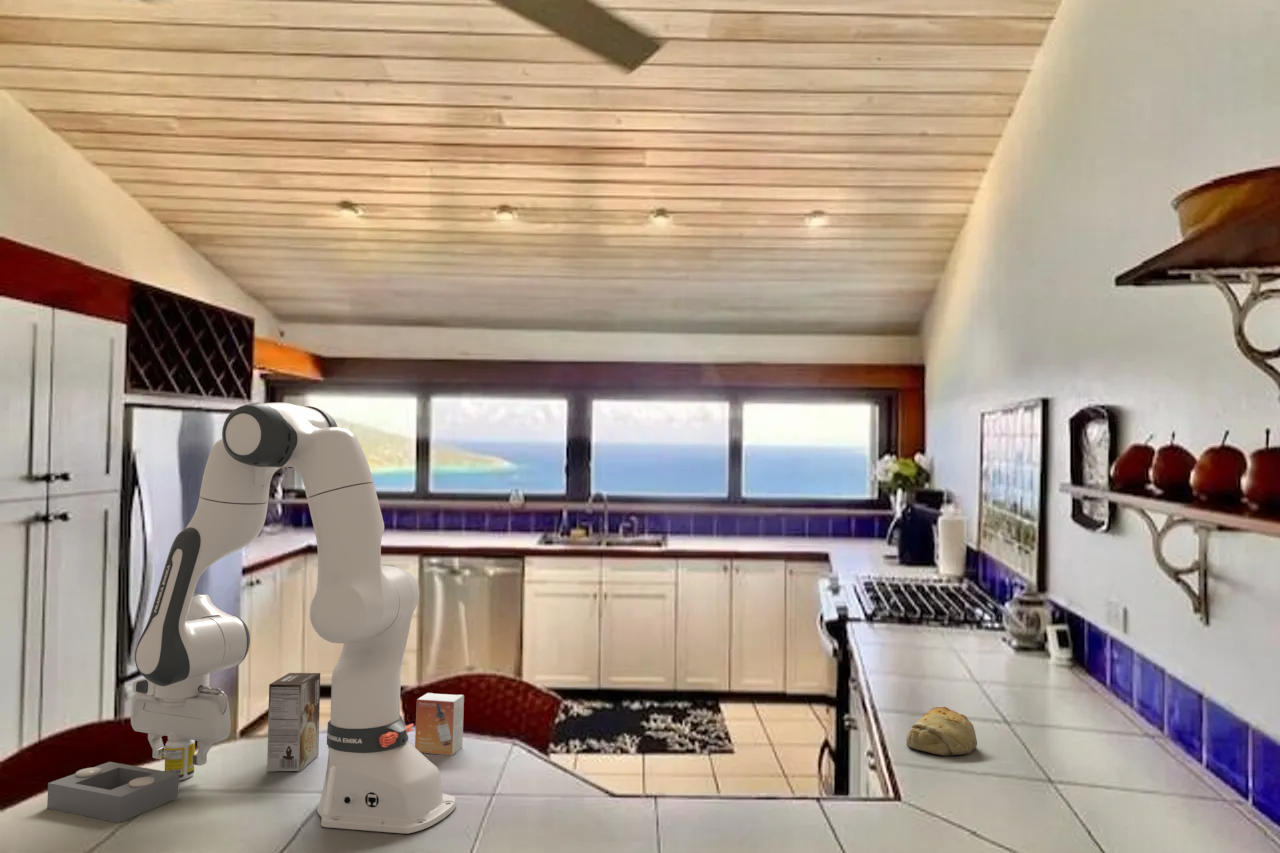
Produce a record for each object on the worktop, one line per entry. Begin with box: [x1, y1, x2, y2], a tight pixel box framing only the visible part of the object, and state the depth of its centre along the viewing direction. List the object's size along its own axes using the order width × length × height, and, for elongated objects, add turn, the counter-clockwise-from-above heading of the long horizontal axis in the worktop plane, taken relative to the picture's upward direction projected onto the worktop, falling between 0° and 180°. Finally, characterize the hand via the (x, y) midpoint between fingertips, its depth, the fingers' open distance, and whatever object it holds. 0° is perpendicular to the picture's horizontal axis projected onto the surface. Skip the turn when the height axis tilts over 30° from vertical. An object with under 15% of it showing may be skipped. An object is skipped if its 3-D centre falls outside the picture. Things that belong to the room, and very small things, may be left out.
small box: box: [414, 692, 465, 757], centre depth 173 cm, size 8×6×10 cm
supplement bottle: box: [164, 733, 196, 782], centre depth 156 cm, size 5×5×8 cm
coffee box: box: [266, 672, 322, 772], centre depth 164 cm, size 9×6×16 cm
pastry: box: [906, 706, 978, 757], centre depth 178 cm, size 14×12×8 cm
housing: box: [46, 761, 180, 824], centre depth 144 cm, size 16×11×4 cm
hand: (179, 761), depth 156 cm, fingers open, 8 cm apart
